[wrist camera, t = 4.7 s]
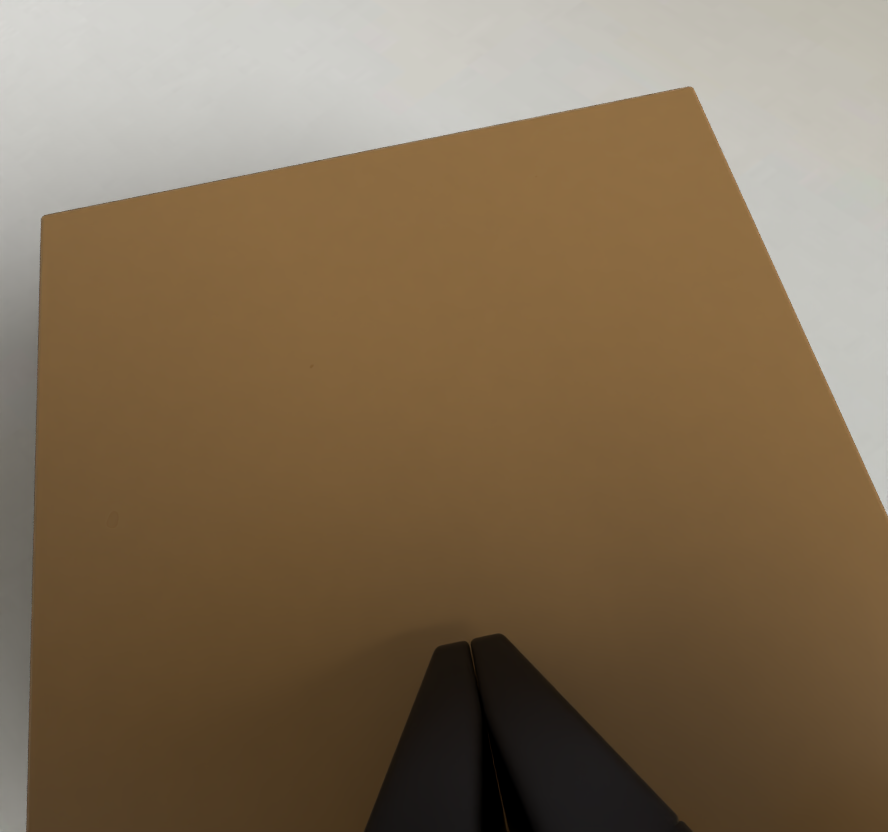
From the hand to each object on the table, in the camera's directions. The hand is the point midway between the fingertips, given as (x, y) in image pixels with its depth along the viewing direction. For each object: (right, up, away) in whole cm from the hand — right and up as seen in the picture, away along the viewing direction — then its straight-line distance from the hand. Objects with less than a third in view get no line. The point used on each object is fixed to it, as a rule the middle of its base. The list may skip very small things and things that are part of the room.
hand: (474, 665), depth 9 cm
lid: (0, +1, +2) cm, 2 cm away
